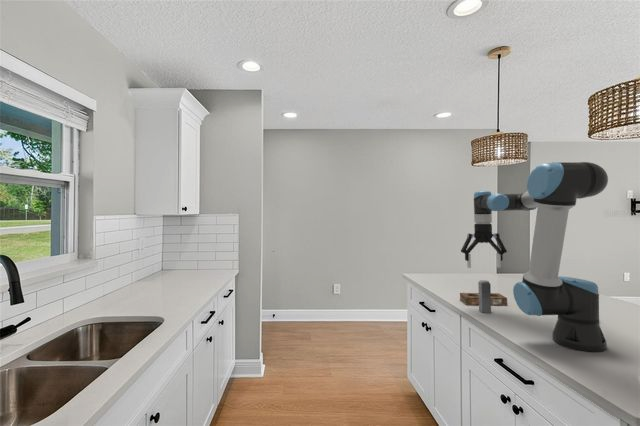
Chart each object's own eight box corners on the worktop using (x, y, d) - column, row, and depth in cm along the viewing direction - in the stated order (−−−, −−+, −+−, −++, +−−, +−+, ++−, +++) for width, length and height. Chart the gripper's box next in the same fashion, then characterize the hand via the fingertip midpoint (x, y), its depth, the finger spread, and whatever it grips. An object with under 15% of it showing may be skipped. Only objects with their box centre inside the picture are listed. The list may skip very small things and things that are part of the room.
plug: (491, 313, 152) (490, 281, 153) (482, 313, 153) (481, 281, 153) (487, 310, 156) (486, 280, 156) (479, 310, 157) (478, 280, 157)
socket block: (498, 300, 174) (498, 293, 174) (507, 305, 164) (507, 298, 164) (460, 300, 176) (459, 292, 176) (466, 305, 166) (466, 297, 166)
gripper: (506, 222, 157) (507, 266, 157) (453, 223, 160) (454, 266, 160) (514, 223, 150) (515, 268, 150) (458, 224, 153) (459, 268, 153)
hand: (483, 267), depth 155 cm, fingers open, 13 cm apart
